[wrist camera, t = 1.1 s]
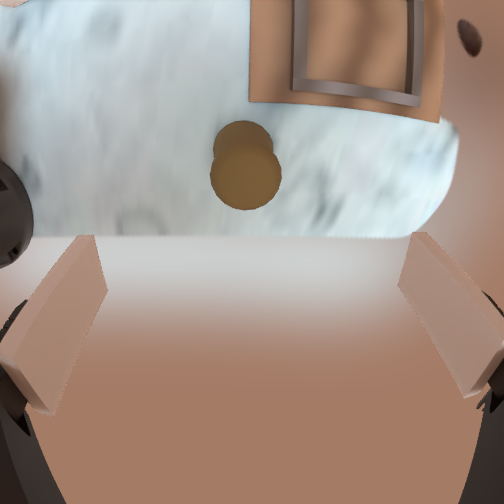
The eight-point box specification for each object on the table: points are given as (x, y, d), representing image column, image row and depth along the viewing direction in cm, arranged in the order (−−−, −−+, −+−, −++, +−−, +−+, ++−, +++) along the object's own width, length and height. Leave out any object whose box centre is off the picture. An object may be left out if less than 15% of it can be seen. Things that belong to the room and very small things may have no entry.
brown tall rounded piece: (246, 189, 33) (251, 237, 24) (201, 154, 31) (185, 189, 21) (285, 146, 31) (308, 177, 21) (239, 108, 29) (240, 120, 19)
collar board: (248, 101, 28) (250, 102, 26) (251, -42, 20) (253, -51, 18) (434, 122, 29) (446, 125, 27) (438, -3, 21) (450, -6, 19)
